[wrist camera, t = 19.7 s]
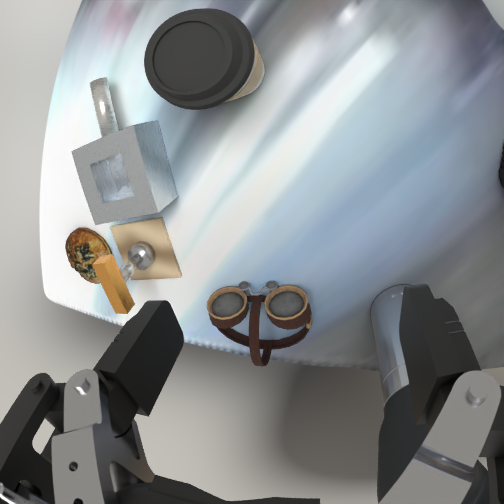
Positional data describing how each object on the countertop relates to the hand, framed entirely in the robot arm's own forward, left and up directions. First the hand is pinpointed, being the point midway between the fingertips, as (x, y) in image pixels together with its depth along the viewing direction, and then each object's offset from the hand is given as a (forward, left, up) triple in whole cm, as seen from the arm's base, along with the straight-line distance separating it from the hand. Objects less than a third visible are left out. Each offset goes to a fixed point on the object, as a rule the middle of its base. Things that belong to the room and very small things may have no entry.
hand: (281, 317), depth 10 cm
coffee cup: (+12, +6, -28) cm, 31 cm away
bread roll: (-10, +39, -29) cm, 49 cm away
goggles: (-23, +9, -29) cm, 38 cm away
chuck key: (-10, +26, -28) cm, 39 cm away
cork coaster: (-10, +26, -28) cm, 40 cm away
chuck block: (+7, +23, -28) cm, 37 cm away
